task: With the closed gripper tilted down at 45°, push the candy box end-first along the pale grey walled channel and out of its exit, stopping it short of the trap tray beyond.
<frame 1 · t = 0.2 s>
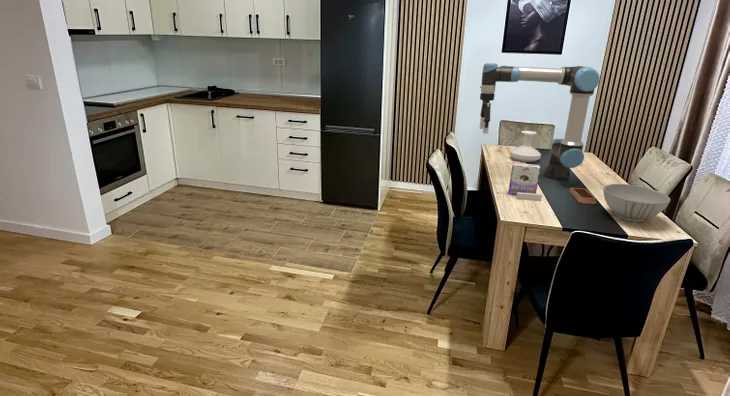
hand: (483, 131, 240), 28 cm above the table, tool pointing down, fingers open, 13 cm apart
walled channel: (525, 194, 226), on the table
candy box: (521, 194, 226), on the table
trap tray: (582, 198, 223), on the table
decorative bowl: (629, 217, 201), on the table
candle holder: (524, 160, 293), on the table
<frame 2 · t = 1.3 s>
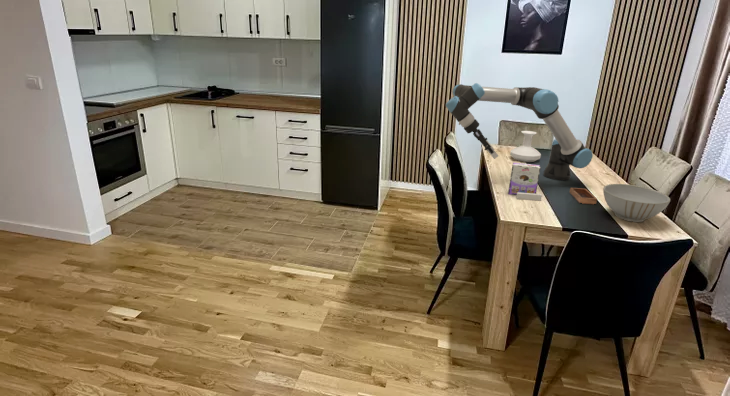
hand: (494, 154, 221), 21 cm above the table, tool tilted 45°, fingers open, 13 cm apart
nothing on the table moved.
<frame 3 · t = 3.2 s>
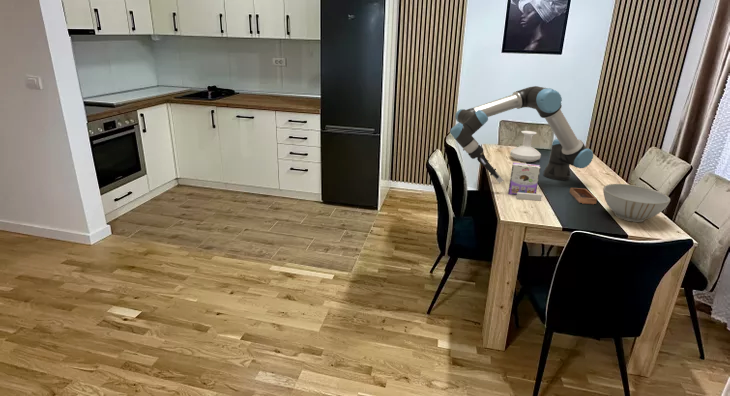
hand: (501, 181, 225), 6 cm above the table, tool tilted 45°, fingers closed
nothing on the table moved.
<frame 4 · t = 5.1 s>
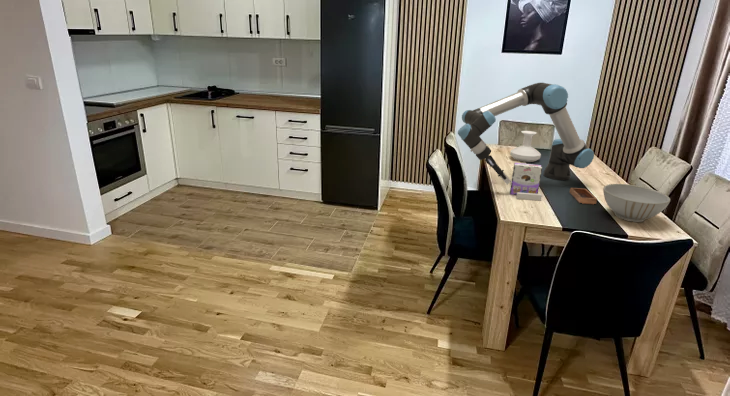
hand: (508, 182, 224), 6 cm above the table, tool tilted 45°, fingers closed
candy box: (523, 194, 226), on the table, touching gripper
everything else where it was.
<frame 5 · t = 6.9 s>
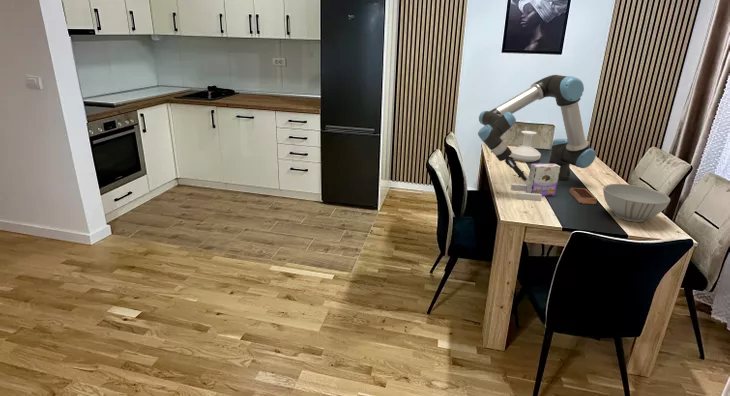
hand: (529, 183, 223), 6 cm above the table, tool tilted 45°, fingers closed
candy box: (540, 194, 227), on the table, touching gripper
everything else where it was.
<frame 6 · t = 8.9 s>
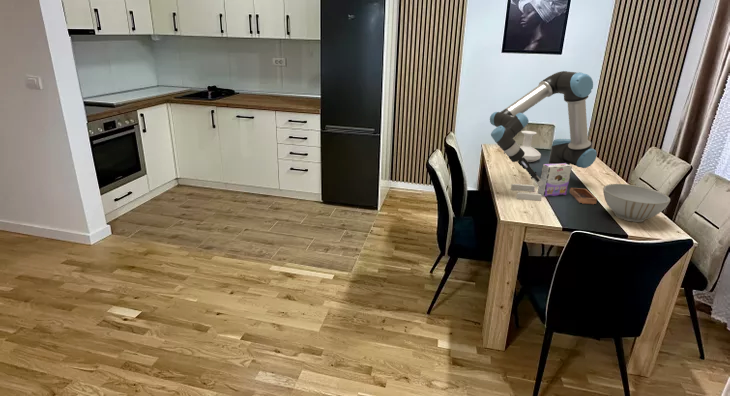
hand: (541, 184, 223), 6 cm above the table, tool tilted 45°, fingers closed
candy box: (551, 194, 228), on the table, touching gripper
everything else where it was.
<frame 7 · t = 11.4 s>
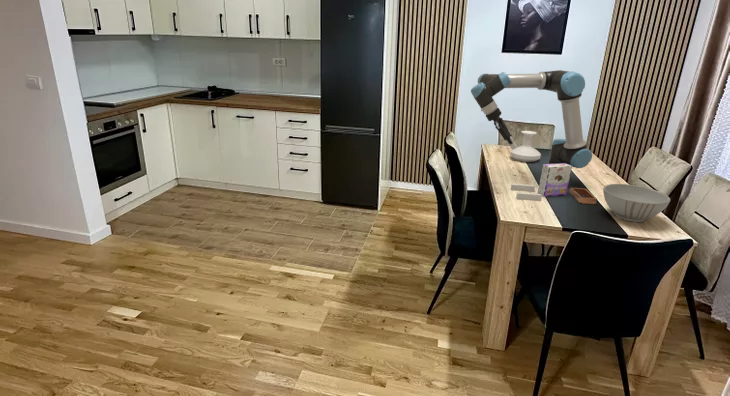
hand: (514, 148, 224), 23 cm above the table, tool tilted 40°, fingers closed
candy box: (551, 194, 228), on the table
everything else where it was.
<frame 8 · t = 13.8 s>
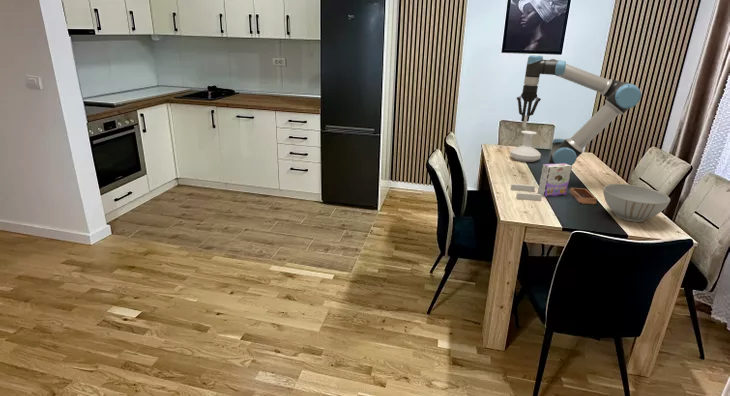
hand: (523, 127, 243), 30 cm above the table, tool pointing down, fingers closed
nothing on the table moved.
at the end: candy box inside the target area (3.8 cm from its centre), on the table; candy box tilted 0°; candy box touching table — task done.
